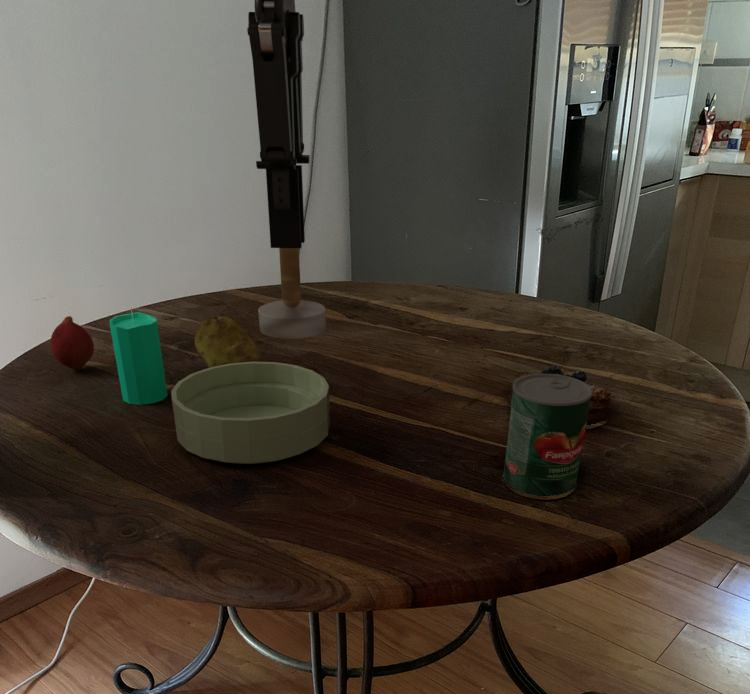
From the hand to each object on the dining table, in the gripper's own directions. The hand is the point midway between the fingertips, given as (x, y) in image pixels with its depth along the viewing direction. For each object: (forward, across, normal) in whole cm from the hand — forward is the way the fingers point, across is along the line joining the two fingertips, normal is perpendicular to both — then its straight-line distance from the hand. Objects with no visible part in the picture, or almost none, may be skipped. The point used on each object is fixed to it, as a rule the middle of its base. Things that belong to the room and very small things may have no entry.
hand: (288, 244), depth 67 cm
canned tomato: (+25, +1, -26) cm, 36 cm away
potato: (+25, +30, +14) cm, 41 cm away
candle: (+25, +22, +24) cm, 41 cm away
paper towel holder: (+8, 0, 0) cm, 8 cm away
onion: (+25, +32, +37) cm, 54 cm away
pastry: (+25, +20, -31) cm, 45 cm away
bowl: (+25, +11, +7) cm, 28 cm away
